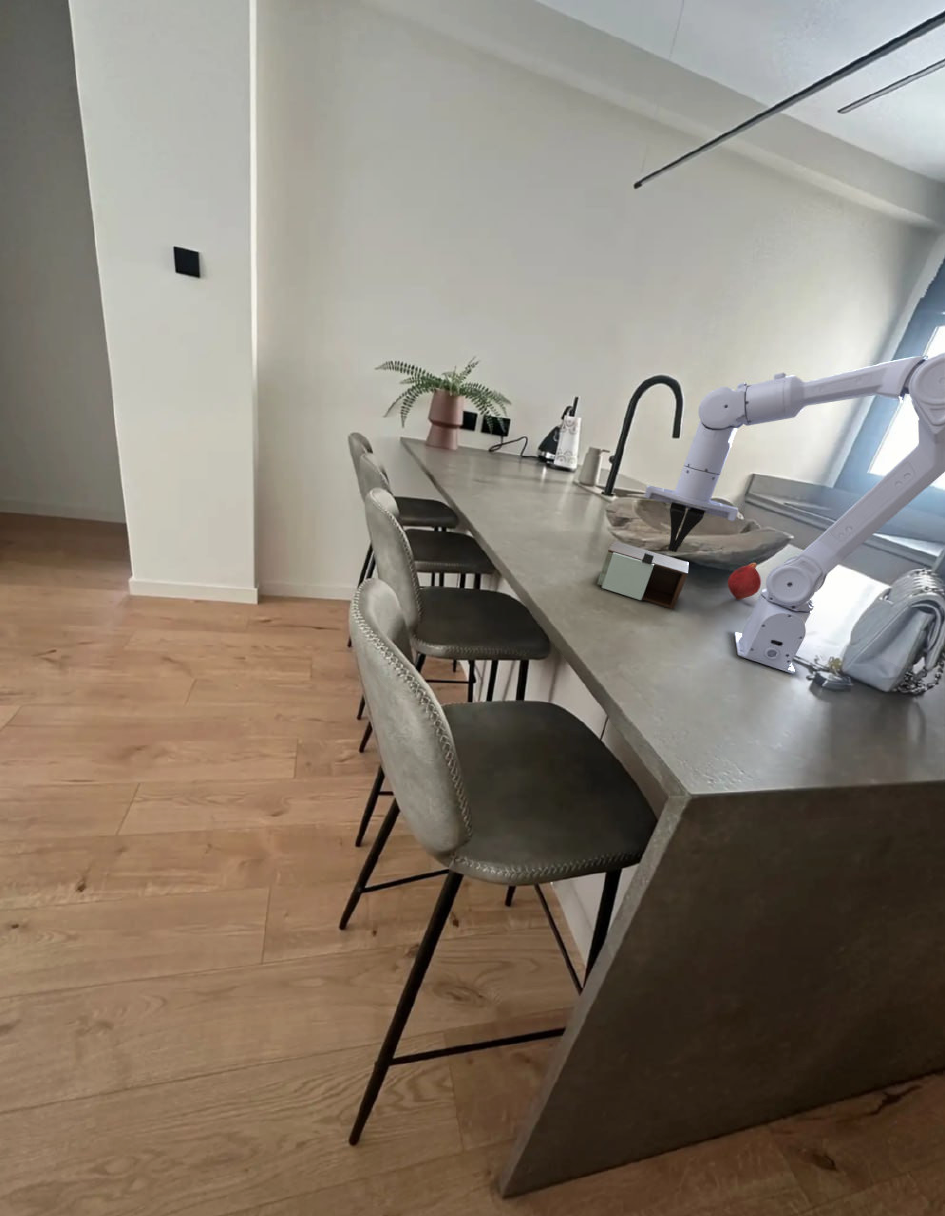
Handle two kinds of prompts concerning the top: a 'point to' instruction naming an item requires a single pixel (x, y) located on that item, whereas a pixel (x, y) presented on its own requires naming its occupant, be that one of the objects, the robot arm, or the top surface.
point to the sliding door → (628, 575)
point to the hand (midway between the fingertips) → (672, 549)
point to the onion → (744, 581)
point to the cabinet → (654, 574)
